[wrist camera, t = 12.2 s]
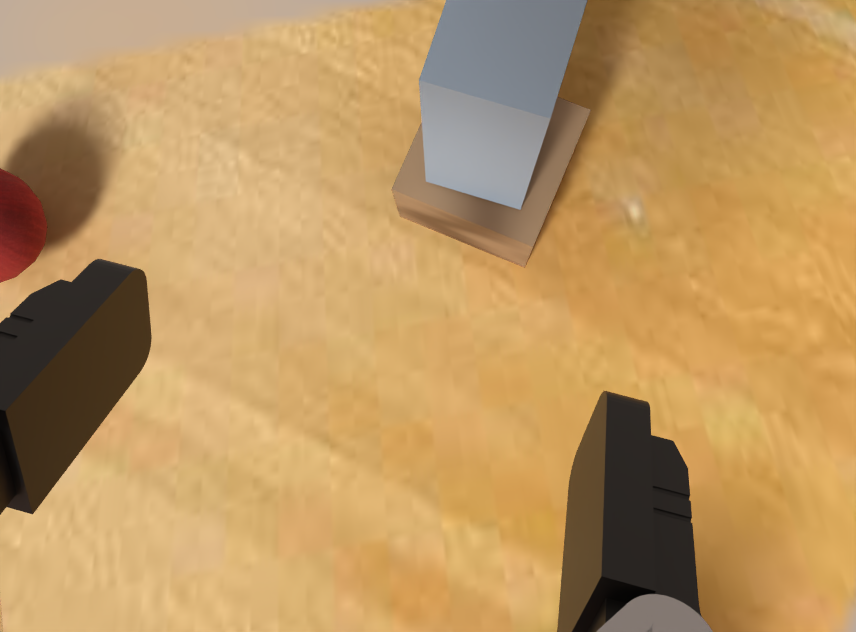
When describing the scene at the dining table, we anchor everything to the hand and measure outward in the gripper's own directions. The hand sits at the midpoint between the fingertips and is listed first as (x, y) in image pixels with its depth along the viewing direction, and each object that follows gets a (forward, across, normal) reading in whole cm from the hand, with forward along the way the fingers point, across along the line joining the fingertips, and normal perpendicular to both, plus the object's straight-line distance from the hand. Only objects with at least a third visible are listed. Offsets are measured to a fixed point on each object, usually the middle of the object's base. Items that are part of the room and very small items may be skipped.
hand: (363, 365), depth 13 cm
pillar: (+23, 0, +7) cm, 24 cm away
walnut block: (+27, 0, +10) cm, 29 cm away
